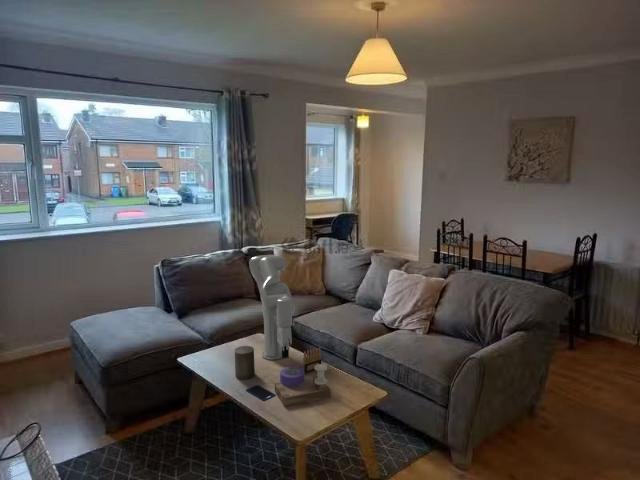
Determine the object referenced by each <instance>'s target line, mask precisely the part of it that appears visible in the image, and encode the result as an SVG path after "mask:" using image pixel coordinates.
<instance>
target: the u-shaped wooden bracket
mask: <svg viewBox="0 0 640 480" xmlns="http://www.w3.org/2000/svg"><path fill="white" fill-rule="evenodd" d="M316 378H317V375H314V376H313V375H312V385H313V386H314V388H315V389H316V390H311V391H308V392H302V393H298V394H293V395H290V394H289V392H288V391H287V389H286V388H285V386H284V385H282V384H281V383H280V382H277V383H274V394H275V395H276V396H277V398H278V399H279V401H280V402H281V405H282V406H283V407H285V408H286V407H290V406H294V405H295V406H296V405H300V404H304V403H308V402H313V401H318V400H324V399H327V398H331V388H330V387H329V385H328V384H325V385H317V384H315V382H314V380H315V379H316Z"/></svg>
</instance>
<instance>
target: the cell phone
mask: <svg viewBox="0 0 640 480" xmlns="http://www.w3.org/2000/svg"><path fill="white" fill-rule="evenodd" d="M245 392H247V393H248V394H251V396H254V397H255V398H257V399H259V400H260V401H262V402H265V401H268V400H270V399H272V398H274V397H276V396H277V394H276V393H275V392H274V393H273V392H272V391H270V390H268V389H267V388H264V387H263V386H262V385H259V384H256V385H253V386H251V387H248V388H246V389H245Z"/></svg>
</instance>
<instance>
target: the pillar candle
mask: <svg viewBox="0 0 640 480" xmlns="http://www.w3.org/2000/svg"><path fill="white" fill-rule="evenodd" d="M233 351H234V370H235V372H234V373H235V374H234V375H235V378H237V379H238V380H250V379H252V378H254V377H255V375H256V373H255V371H256V370H255V349H254V347H253V346H249V345H241V346H238V347H235V349H234V350H233Z"/></svg>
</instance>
